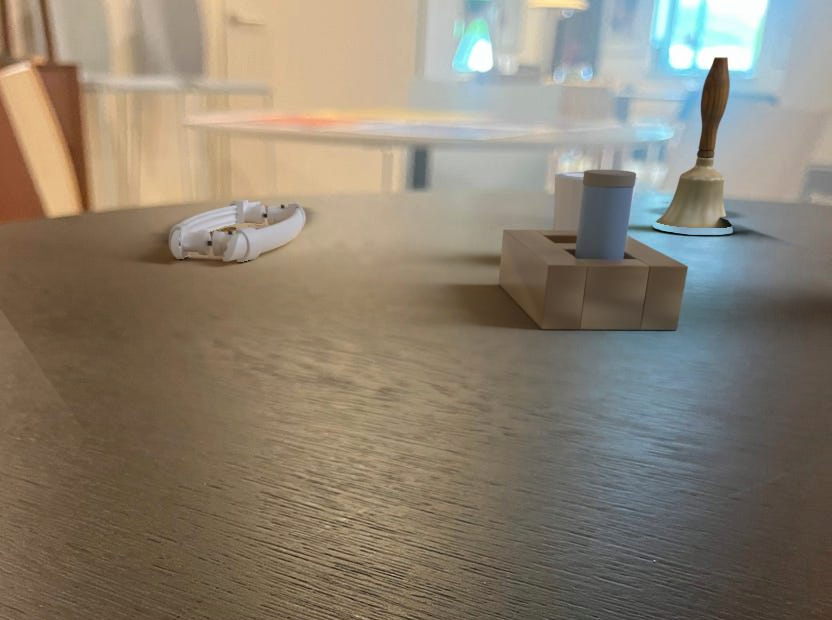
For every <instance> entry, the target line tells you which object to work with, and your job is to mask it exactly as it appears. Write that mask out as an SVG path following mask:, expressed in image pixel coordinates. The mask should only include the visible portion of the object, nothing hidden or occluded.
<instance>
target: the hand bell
mask: <svg viewBox="0 0 832 620" xmlns="http://www.w3.org/2000/svg"><path fill="white" fill-rule="evenodd" d="M730 80H731V79H730V71H729V58H728V57H727V56H725V57H724V56H723V57H721V56H720V57H714V58H713V61H712V64H711V66H710V68H709V71H708V73H707V75H706V77H705V80H704V83H703V87H702V92H701V98H700V118H701V132H700V137H699V144H698V150H697V153H696V157H697V158H696V162H695V164H694V166H693V167H691V168H690V169H688V170H687V171H685V172H682V174H680V176H679V178H678V182H677V186H676V189H675V192H674V194H673V197H672V199H671V202H670V204H669V206H668V207H667V209H666V210H665V211H664V213H663V214H662V215H661V216H660V217H659V218H658V219H656V220H655V222H657V223H660V224H664V225H669V226H676V227H687V228H727V227H731V226H733V224H732V223H731V222H730V220H729V219H726V218H724V217H726V216H727V214H726V213H727V212H726V209H725V203H724V202H725V201H724V189H725V188H724V186H725V177H724V175H723V174H721V173H720V172H718V171H717V170H716V169H715V168H714V161H715V159H714V157H715V154H716V153H715V149H716V143H717V135H718V131H719V126H720V125H721V124H720V123H721V122H722V119H723V116H724V114H725V111H726V109H727V104H728V101H729V96H730V89H731V81H730Z"/></svg>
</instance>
